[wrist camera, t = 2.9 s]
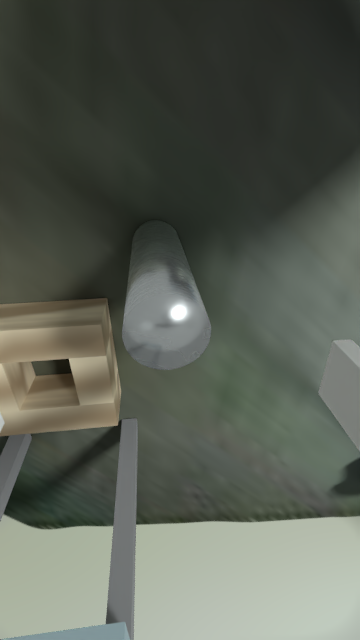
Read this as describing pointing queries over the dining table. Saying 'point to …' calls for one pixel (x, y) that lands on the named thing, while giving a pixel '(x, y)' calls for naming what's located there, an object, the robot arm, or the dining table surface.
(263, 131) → the dining table surface
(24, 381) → the socket block
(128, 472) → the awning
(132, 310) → the peg
